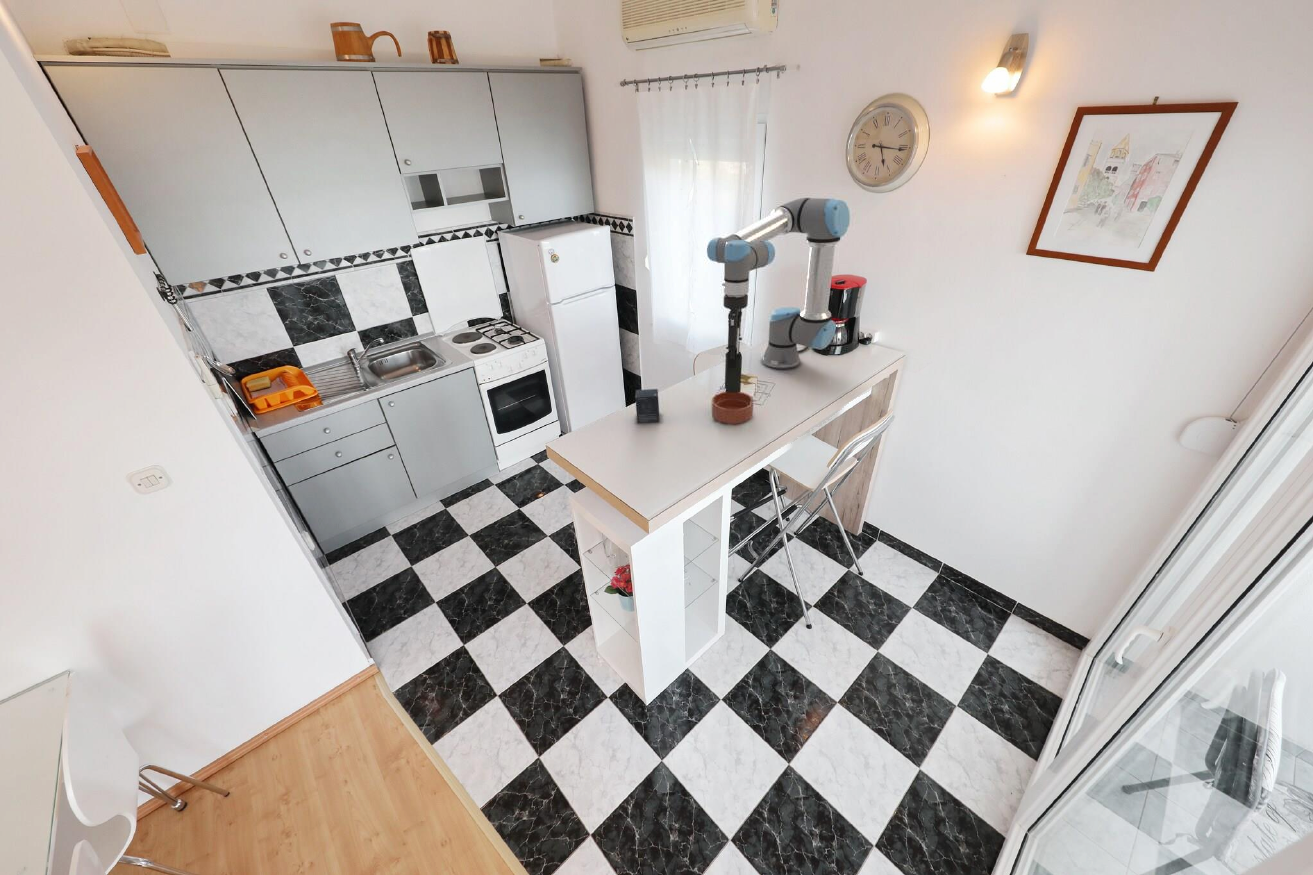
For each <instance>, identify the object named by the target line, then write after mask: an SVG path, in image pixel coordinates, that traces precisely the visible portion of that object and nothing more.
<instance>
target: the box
mask: <svg viewBox="0 0 1313 875" xmlns="http://www.w3.org/2000/svg"><path fill="white" fill-rule="evenodd" d="M634 400H635V410H636V421H637V424H643V423H644V424H646V423H660V404H659V403H660V402H659V389H658V388H649V389H636V390H635V396H634Z"/></svg>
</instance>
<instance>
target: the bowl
mask: <svg viewBox="0 0 1313 875" xmlns="http://www.w3.org/2000/svg"><path fill="white" fill-rule="evenodd" d="M754 402H755V400H754V398H753V397H752V396H751V395H750V394H749V393H746V392H742V391H740V392H737V393H727V392H726V391H721V392H718V393H716V394H715V395H714V396H712V398H711V416H712V418H713V419H715V420H716V421H718V422H719V423H723V424H729V425H736V424H737V425H738V424H742V423H745V422H747V421H749V420H750V419H751V418H752V417H753V414H754Z"/></svg>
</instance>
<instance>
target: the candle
mask: <svg viewBox="0 0 1313 875" xmlns="http://www.w3.org/2000/svg"><path fill="white" fill-rule="evenodd" d="M739 341H740V340H739V328H738V333H737V366H736V368H733V367H728V351H727V352H726V353H725V365H724V366H725V368H724V389H725V392H727V393H737V392H742V391H741V389H742V366H743V355H742V353H741V351H740V345H739ZM738 349H739V351H738Z"/></svg>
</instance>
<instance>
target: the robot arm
mask: <svg viewBox="0 0 1313 875" xmlns="http://www.w3.org/2000/svg"><path fill="white" fill-rule="evenodd" d="M850 215H851V214H850V209H849V206H848V205H847V203H846V202H845V201H844V200H841V199H835V198H821V197H820V198H817V197H800V198H797V199H793V200H791V201H789V202H785V203H784V204H781V205H779V206H778V207H776V208H774V209H773V210H772V211H771V213H770V214H769V215H766V216H765V217H763V218H761V219H758V220H757V221H755V222H752V223H751V224H749V225H747V226H745V227H743V228H742V229H739V230H738V231H735V232H734V233H731V234H730V235H728V236H726V237H713V238H711V239H710V240H709V242H708V244H707V245H706V255H707V258H708V259H709V260H710V261H711V262H715V263H717V264H724V265H723V266H724V267H723V268H724V272H723V273H724V274H723V275H724V278H723V282H722V283H721V286H722V287H723V293H724V295H723V307H724V308H725V309H727V310H728V309H729V312H728V314H727V319H728V320H727V323H728V329H727V330H728V332H727V346H726V347H725V349H726V350H728V351H727V352H728V367H733V368H736V366H737V333H738V328H739V346H740V345H741V344H740V341H742V340H743V337H741V335H742V334H741V326H742V316H743V309H745V308H747V307H748V305H749V303H748V302H749V294H748V293H749V287H750V286H749V285H750V272H751V271H754V270H757V269H760V268H765V267H767V266H769V265H770V264H771V263H773V261H774V260H775V256H776V248H775V246H774V245H773V244H772V243H771V242H770V240H772V239H774V238H776V237H777V236H784V235H787V234H789V233H796V234H797V233H799V234H805V235H806V240H805V241H806V242H807V244H808V245H809V256H808V265H807V266H808V267H807V278H806V289H805V300H804V301H805V302H804V309H803V310H802V311H801V309H800V308H799V307H793V306H787V307H780V308H776V309H774V310H772V311H771V312H770V318H769V327H768V330H769V331H768V342H767V347H766V349H765V351H764V353H763V356H762V364H764V366H766V367H768V368H771V369H776V370H790V369H794V368H796V367H798V366H799V365H800V360H801V359H800V356H799V353H802V352H804V351H806V350H807V349H808V348H811V349H816V350H824V349H825V348H827V347H828V346H829V345H830V343H831V342H832V341H833V339H834V336H835V334H836V330H837V324H836V322H835V321H834V320H832V313H831V311H830V310H829V301H830V294H831V293H830V292H831V286H832V285H831V284H832V276H833V268H834V260H835V259H834V258H835V251H836V245H837V244H838V243H839V242H840V241H841V238H842V237H844V236H845V235H846V233H847V231H848V228H849V226H850V221H851V217H850ZM797 345H800V346H804V348H803V349H800V350H798V347H797ZM738 351H740V348H739V349H738Z"/></svg>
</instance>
